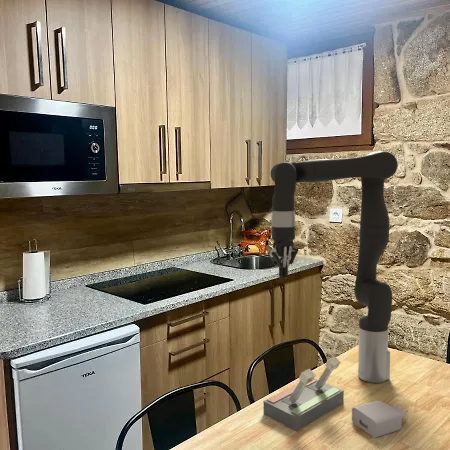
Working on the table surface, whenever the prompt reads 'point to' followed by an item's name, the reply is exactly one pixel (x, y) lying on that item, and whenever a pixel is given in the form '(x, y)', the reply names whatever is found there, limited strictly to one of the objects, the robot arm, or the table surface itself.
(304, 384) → the switch lever
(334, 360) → the lever on
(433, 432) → the table surface
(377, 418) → the charger
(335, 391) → the switch box
